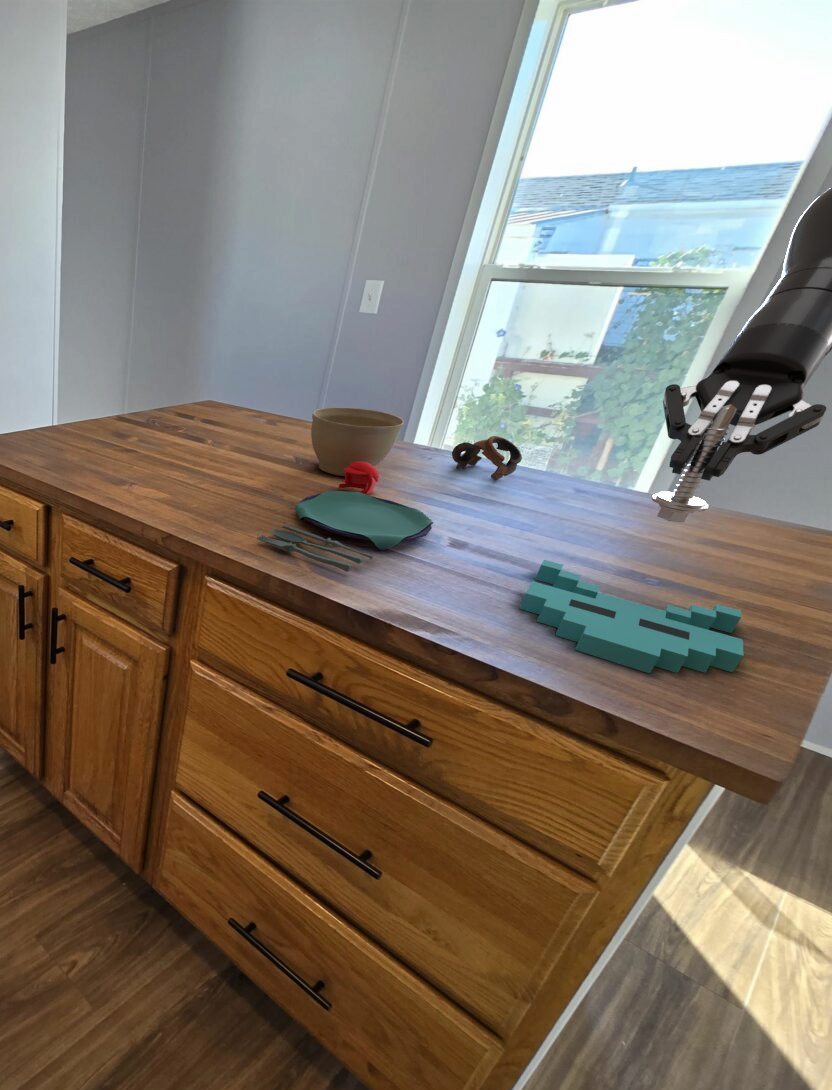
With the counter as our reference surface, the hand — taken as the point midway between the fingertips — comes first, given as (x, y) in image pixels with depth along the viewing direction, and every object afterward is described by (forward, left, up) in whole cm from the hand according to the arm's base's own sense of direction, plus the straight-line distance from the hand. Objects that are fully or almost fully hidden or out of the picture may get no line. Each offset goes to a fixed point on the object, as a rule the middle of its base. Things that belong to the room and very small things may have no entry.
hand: (692, 472), depth 72 cm
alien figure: (-1, +1, -19) cm, 19 cm away
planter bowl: (+53, -23, -19) cm, 61 cm away
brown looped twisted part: (+38, -45, -19) cm, 62 cm away
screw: (0, -2, -6) cm, 6 cm away
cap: (+44, -13, -19) cm, 50 cm away
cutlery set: (+34, +5, -19) cm, 40 cm away
